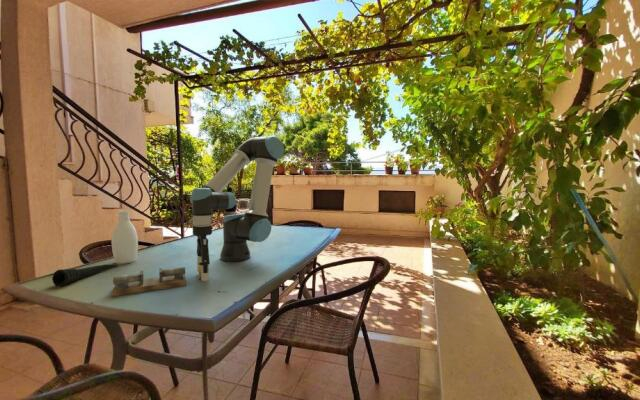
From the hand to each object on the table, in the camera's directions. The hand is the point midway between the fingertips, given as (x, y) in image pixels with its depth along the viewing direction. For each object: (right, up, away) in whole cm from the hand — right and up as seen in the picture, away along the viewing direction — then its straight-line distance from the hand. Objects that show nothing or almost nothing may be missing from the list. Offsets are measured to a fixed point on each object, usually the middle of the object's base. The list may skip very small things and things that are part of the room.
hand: (202, 275), depth 125 cm
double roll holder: (-16, -2, -10) cm, 19 cm away
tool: (-51, -1, +3) cm, 51 cm away
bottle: (-48, +1, +24) cm, 54 cm away
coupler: (0, -1, 0) cm, 1 cm away
